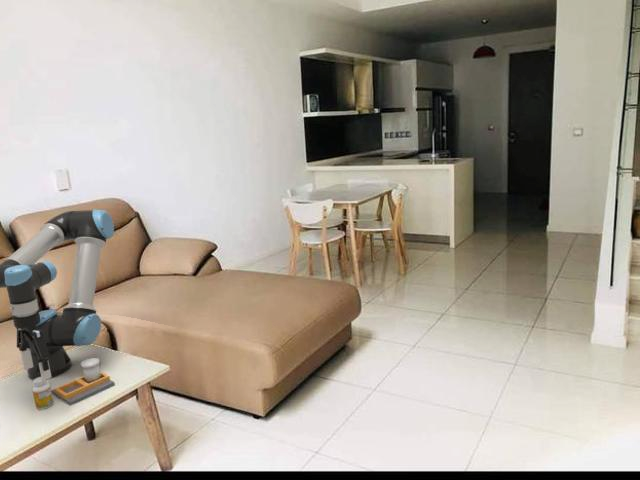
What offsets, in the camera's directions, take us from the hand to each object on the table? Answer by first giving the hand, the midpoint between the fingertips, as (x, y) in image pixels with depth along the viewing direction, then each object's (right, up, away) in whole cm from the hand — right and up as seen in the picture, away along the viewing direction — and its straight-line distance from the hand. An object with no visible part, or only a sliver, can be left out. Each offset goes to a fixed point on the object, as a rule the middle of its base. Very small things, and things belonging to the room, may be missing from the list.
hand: (37, 373), depth 173 cm
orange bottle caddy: (+10, -9, +12) cm, 18 cm away
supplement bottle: (+1, -12, +3) cm, 12 cm away
